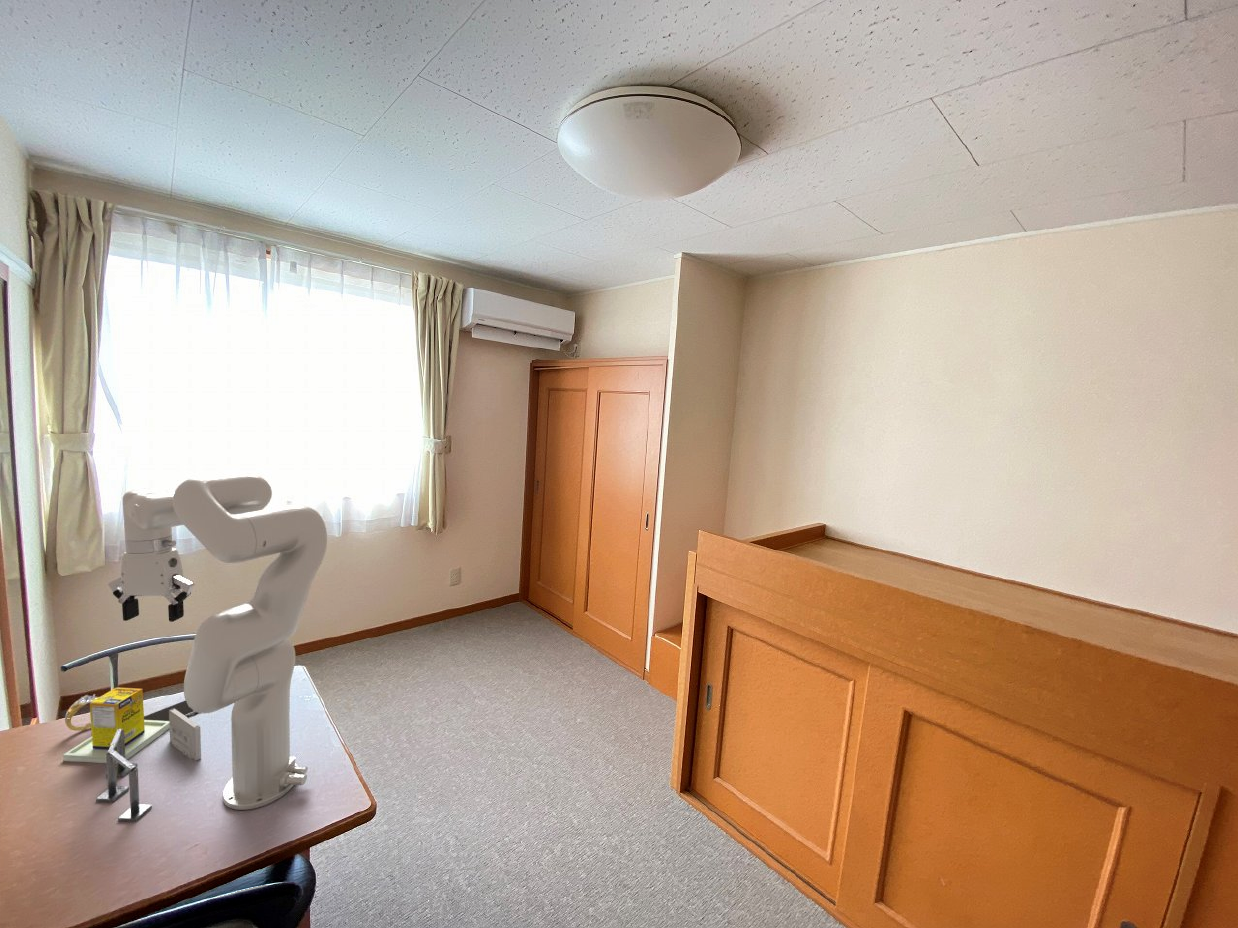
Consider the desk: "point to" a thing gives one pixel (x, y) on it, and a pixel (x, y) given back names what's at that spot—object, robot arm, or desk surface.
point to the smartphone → (164, 713)
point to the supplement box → (117, 716)
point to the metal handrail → (120, 771)
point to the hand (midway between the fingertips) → (153, 618)
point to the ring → (72, 711)
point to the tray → (88, 754)
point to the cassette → (185, 734)
